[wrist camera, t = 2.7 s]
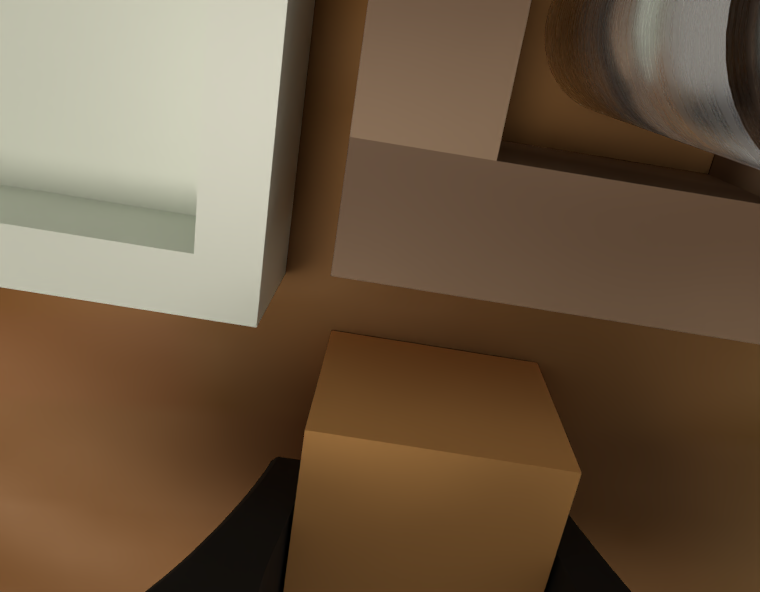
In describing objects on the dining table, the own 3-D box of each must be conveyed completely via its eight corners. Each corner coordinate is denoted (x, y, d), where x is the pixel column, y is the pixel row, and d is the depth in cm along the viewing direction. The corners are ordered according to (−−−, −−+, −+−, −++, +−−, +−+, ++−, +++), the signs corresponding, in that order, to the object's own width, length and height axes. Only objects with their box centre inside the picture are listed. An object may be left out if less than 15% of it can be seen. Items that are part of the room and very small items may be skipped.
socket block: (779, 300, 12) (869, 362, 10) (345, 230, 12) (331, 275, 10) (991, -229, 9) (1191, -321, 7) (424, -329, 9) (430, -459, 7)
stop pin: (680, 126, 11) (1119, 256, 4) (528, 100, 11) (725, 191, 4) (734, -47, 10) (1410, -233, 3) (568, -75, 10) (903, -324, 3)
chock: (473, 598, 15) (491, 755, 12) (297, 572, 15) (265, 722, 12) (537, 362, 13) (582, 473, 9) (331, 330, 13) (304, 429, 9)
